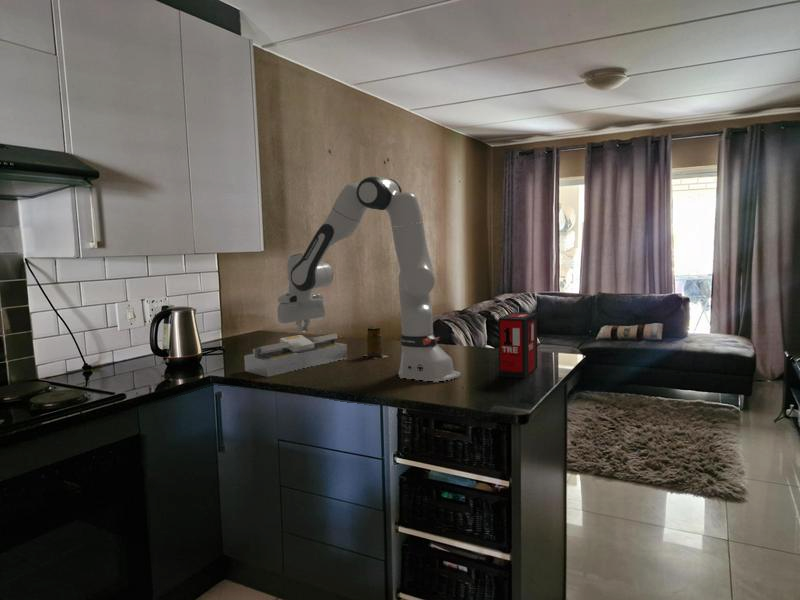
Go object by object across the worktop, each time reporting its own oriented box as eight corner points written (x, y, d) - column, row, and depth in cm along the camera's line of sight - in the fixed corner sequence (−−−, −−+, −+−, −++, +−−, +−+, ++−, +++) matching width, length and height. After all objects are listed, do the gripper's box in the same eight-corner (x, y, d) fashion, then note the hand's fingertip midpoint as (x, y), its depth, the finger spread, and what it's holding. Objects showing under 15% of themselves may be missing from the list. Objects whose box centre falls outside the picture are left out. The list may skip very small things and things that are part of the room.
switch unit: (347, 358, 226) (346, 336, 225) (267, 376, 198) (266, 351, 198) (323, 354, 236) (322, 332, 235) (245, 371, 209) (243, 346, 208)
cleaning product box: (524, 378, 186) (524, 319, 184) (499, 375, 190) (498, 318, 188) (537, 367, 200) (537, 313, 198) (513, 366, 205) (513, 312, 203)
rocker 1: (289, 346, 208) (288, 341, 209) (266, 351, 201) (264, 345, 201) (276, 350, 215) (275, 344, 215) (253, 354, 207) (252, 349, 207)
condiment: (376, 354, 234) (375, 326, 233) (388, 356, 228) (388, 328, 227) (362, 356, 230) (361, 328, 229) (374, 359, 223) (373, 330, 222)
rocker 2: (314, 347, 218) (315, 343, 217) (292, 352, 210) (293, 347, 210) (300, 339, 223) (301, 334, 223) (279, 343, 216) (279, 338, 215)
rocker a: (338, 337, 226) (337, 332, 226) (318, 341, 218) (317, 336, 218) (324, 340, 232) (323, 335, 232) (304, 344, 224) (303, 339, 225)
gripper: (317, 293, 222) (319, 327, 223) (273, 298, 207) (276, 335, 209) (327, 293, 218) (329, 328, 219) (283, 299, 203) (286, 336, 204)
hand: (303, 331), depth 214 cm, fingers closed
